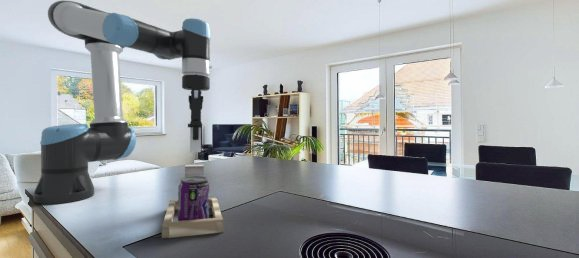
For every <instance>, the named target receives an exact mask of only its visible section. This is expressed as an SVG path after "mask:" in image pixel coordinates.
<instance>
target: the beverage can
mask: <svg viewBox="0 0 579 258" xmlns="http://www.w3.org/2000/svg"><path fill="white" fill-rule="evenodd" d="M177 198H178V199H177V200H178V210H177V221H185V220H197V219H208V218H210V208H209V198H210V183H209V181H208V177H207V176H189V177H185V176H184V177H182V178H180V183H179V185H178V196H177Z"/></svg>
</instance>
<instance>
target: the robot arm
mask: <svg viewBox="0 0 579 258" xmlns="http://www.w3.org/2000/svg"><path fill="white" fill-rule="evenodd" d="M47 17H48V20H49V22H50V24H51V25H52V26H53V28H54V29H56V30H57V31H58V32H60V33H62V34H64V35H66V36H69V37H71V38H75V39H77V40H82V41H84V48H85V50H87V51H88V52H89V53H90V62H91V63H90V64H91V80H92V81H91V83H92V96H93V112H94V114H93V116H94V117H93V119H92V120H91V121H90V122H89V124H88V123H87V124H86V123H75V124H74V123H72V124H62V125H61V124H60V125H52V126H48V127H45V128H44V129H43V130H42V131H41V139H40V159H41V160H40V164H41V165H40V171H41V172H40V178H39V180H38V183H37V185H36V187H35V190H34V192H33V195H32V196H33V197H32V198H33V200H32V201H33V202H34V203H36V204H39V205H40V204H42V205H51V204H52V205H53V204H54V205H55V204H56V205H57V204H63V203H64V204H65V203H71V202H72V203H73V202H77V201H81V200H85V199H89V198H91V197H92V196H94V195H95V186H94V183H93V181H92V179H91V178H92V177H91V176H90V173H89V163H91V162H92V163H93V162H95V163H96V162H104V161H111V160H112V161H116V160H117V161H118V160H120V159H126V158H128V157H129V156H130V155H131V154H132V153H133V151H134V150H135V147H136V144H137V135H136V133H135V130H134V129H133V128H132V127H129V123H128V121H127V120H126V119H125V118H124V117H123V116H124V115H123V101H122V88H121V87H122V86H121V84H122V83H121V73H120V72H121V71H120V56H119V55H120V54H121V53H122V52H123V51H124V49H125V48H128V49H133V50H137V51H140V52H144V53H148V54H153V55H154V56H156V57H157V59H159V60H169V61H172V60H174V59H175V60H176V59H180V58H181V73H182V74H183V75H182V77H181V87H182V89H183V90H186V91H190V94H191V95H188V104H189V105H188V106H189V110H190V122H189V123H187V128H189V129H190V131H189V133H190V134H189V153H201V152H202V127H203V123H202V110H203V104H204V96H203V95H202V92H203V91H204V92H206V91H209V90H210V89H211V88H210V87H211V85H210V83H211V82H210V77H209V76H210V72H211V71H210V70H211V69H212V68H213V65H211V63H210V62H211V57H210V56H211V27H210V25H209V23H208V22H206V21H205V20H203V19H199V18H186V19H184V20H183V21H182V26H181V30H177V31H169V30H166V29H163V28H161V27H157V26H155V25H152V24H149V23H147V22H143V21H141V20H138V19H136V18H133V17H130V16H128V15H126V14H125V15H124V14H120V13H116V12H106V11H104V10H100V9H97V8H94V7H92V6H89V5H86V4H82V3H80V2H77V1H72V0H57V1H55V2H53V3H52V4H51V5H50V6H49V8H48V9H47Z"/></svg>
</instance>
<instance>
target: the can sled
mask: <svg viewBox="0 0 579 258" xmlns="http://www.w3.org/2000/svg"><path fill="white" fill-rule="evenodd" d="M204 171H205V169H204V164H185V166H184V177H189V176H203V177H205V176H204V173H205V172H204ZM220 208H221V207H220V205H219V201H218V197H209V209H211V212H212V218H211V217H209V218H208V219H197V220H185V221H178V220H176V221H175V220H174V217H175V212H176V211H178V199H176V200H169V203H168V205H167V209H166V212H165V216H164V219H163V222H162V223H161V239H170V238H180V237H190V236H199V235H209V234H218V233H224V218H223V216H222V213H221V209H220Z"/></svg>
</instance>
